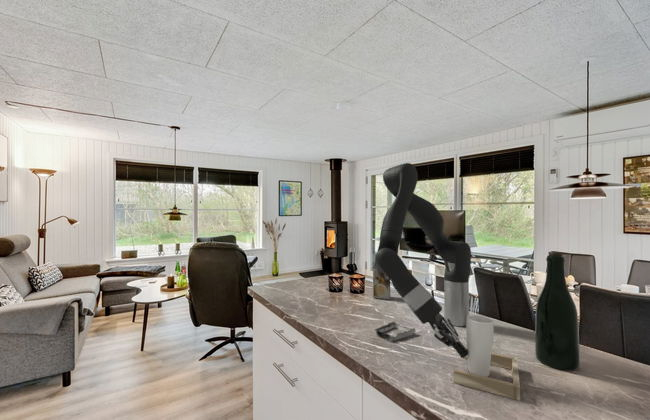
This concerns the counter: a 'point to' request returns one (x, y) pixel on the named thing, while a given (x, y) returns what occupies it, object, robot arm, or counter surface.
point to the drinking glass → (479, 344)
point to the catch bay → (489, 383)
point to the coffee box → (380, 285)
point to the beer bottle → (556, 319)
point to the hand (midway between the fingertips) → (465, 355)
